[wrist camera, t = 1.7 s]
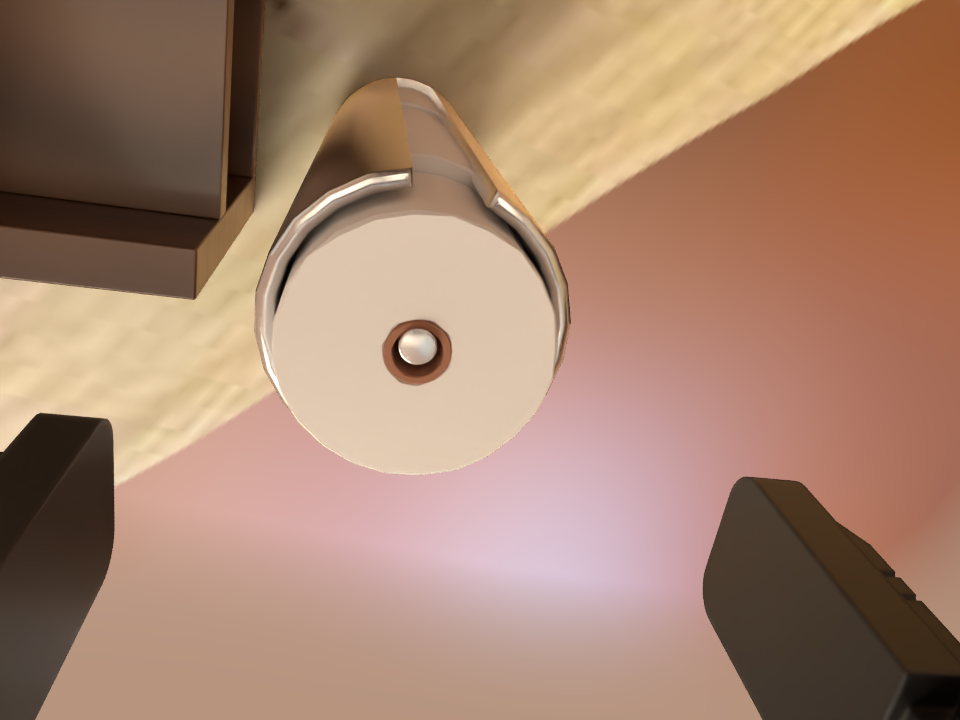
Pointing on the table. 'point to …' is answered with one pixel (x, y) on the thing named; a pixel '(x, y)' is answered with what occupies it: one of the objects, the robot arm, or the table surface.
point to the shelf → (126, 140)
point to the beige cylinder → (409, 291)
